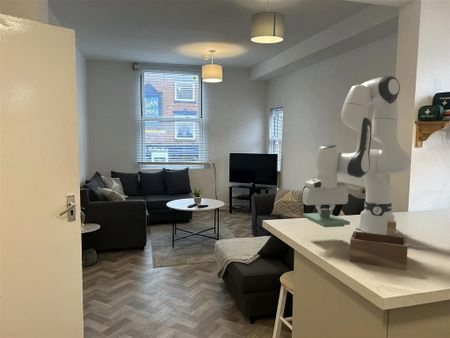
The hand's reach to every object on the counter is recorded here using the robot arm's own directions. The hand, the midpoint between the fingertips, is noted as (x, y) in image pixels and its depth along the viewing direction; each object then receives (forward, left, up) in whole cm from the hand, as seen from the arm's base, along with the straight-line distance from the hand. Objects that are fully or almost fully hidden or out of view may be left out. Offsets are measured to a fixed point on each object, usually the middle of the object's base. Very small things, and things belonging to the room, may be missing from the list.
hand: (324, 214), depth 153 cm
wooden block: (+7, +26, -11) cm, 29 cm away
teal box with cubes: (0, 0, -3) cm, 3 cm away
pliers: (-5, +35, -12) cm, 37 cm away
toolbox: (+19, +22, -11) cm, 31 cm away
